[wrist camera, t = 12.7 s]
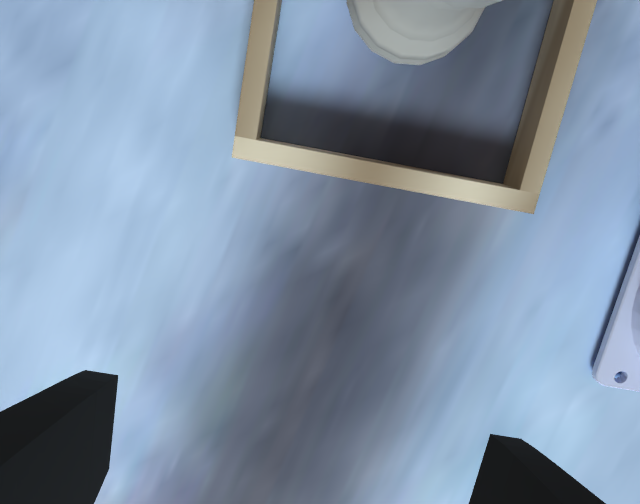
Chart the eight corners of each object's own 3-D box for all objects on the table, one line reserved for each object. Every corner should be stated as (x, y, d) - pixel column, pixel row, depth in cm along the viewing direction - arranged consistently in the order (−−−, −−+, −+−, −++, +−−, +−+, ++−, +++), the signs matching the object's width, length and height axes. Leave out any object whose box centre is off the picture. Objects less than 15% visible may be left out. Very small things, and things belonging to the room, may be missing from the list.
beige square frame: (606, -109, 17) (635, -131, 15) (515, 206, 19) (533, 214, 18) (287, -182, 16) (285, -214, 15) (238, 153, 19) (231, 157, 17)
